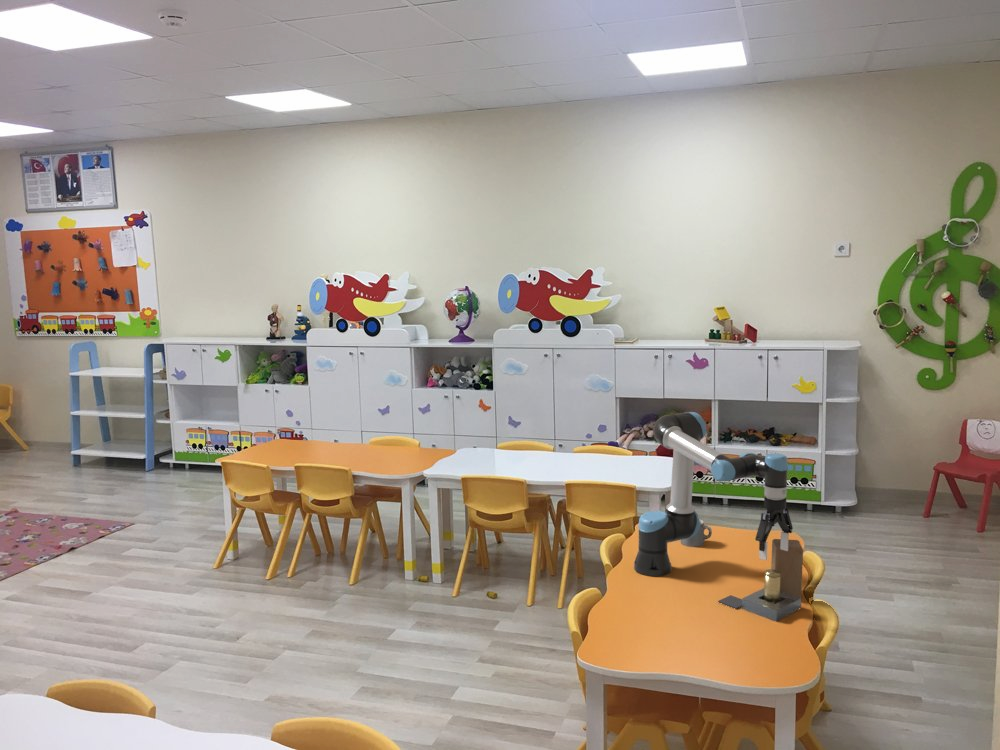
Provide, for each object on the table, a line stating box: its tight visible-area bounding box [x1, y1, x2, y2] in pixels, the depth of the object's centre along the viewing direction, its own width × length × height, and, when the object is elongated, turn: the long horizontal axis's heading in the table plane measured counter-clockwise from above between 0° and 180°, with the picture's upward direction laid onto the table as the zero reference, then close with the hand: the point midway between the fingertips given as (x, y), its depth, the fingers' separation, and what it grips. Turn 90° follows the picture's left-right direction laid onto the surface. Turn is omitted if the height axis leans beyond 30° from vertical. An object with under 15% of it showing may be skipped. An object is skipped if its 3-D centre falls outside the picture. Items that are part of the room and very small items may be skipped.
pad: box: [717, 594, 742, 610], centre depth 302 cm, size 8×8×1 cm
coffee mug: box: [680, 518, 713, 548], centre depth 364 cm, size 13×10×10 cm
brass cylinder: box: [763, 568, 781, 604], centre depth 295 cm, size 5×5×14 cm
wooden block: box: [770, 538, 804, 599], centre depth 308 cm, size 10×10×20 cm
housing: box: [741, 587, 802, 623], centre depth 296 cm, size 14×16×4 cm
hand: (773, 554), depth 293 cm, fingers open, 13 cm apart
